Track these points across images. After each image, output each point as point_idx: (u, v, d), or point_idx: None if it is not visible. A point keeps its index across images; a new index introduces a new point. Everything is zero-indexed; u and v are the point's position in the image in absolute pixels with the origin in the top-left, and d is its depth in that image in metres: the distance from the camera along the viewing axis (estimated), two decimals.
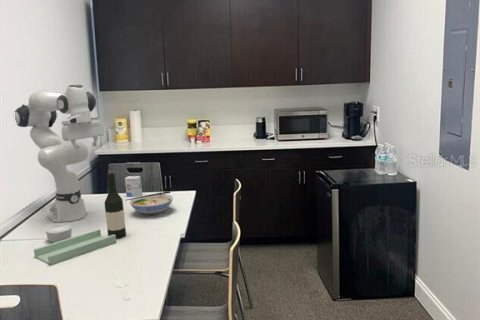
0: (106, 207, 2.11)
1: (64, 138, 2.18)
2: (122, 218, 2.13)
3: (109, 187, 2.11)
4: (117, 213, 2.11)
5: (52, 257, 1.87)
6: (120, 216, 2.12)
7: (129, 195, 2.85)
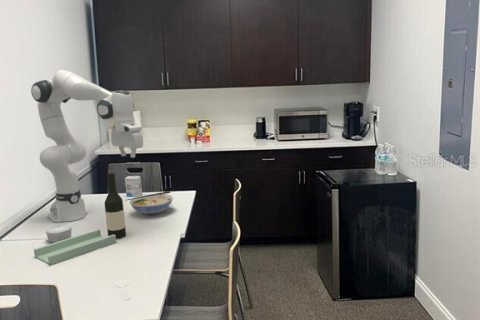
0: (106, 207, 2.11)
1: (140, 145, 2.09)
2: (122, 218, 2.13)
3: (109, 187, 2.11)
4: (117, 213, 2.11)
5: (52, 257, 1.87)
6: (120, 216, 2.12)
7: (129, 195, 2.85)
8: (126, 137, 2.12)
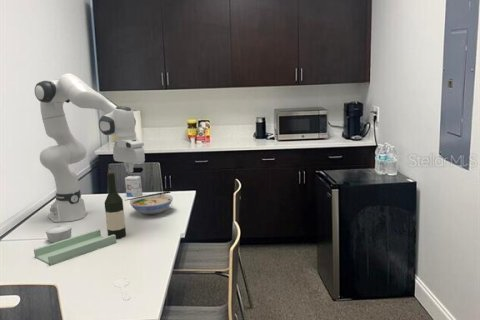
0: (106, 207, 2.11)
1: (142, 161, 2.11)
2: (122, 218, 2.13)
3: (109, 187, 2.11)
4: (117, 213, 2.11)
5: (52, 257, 1.87)
6: (120, 216, 2.12)
7: (129, 195, 2.85)
8: (128, 153, 2.14)
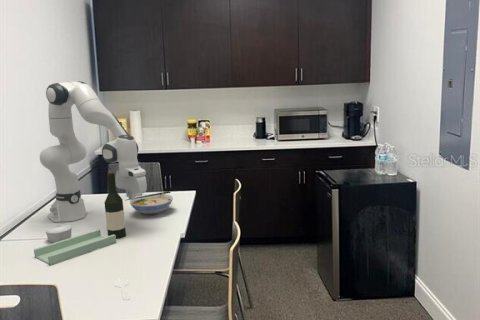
0: (106, 207, 2.11)
1: (144, 189, 2.13)
2: (122, 218, 2.13)
3: (109, 187, 2.11)
4: (117, 213, 2.11)
5: (52, 257, 1.87)
6: (120, 216, 2.12)
7: None
8: (130, 181, 2.16)
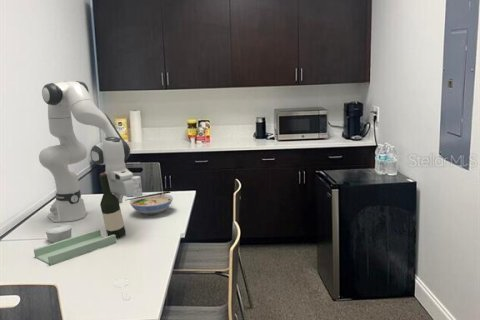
0: (102, 209, 2.09)
1: (131, 193, 2.08)
2: (120, 218, 2.12)
3: (103, 189, 2.08)
4: (114, 214, 2.09)
5: (52, 257, 1.87)
6: (117, 216, 2.11)
7: None
8: (117, 184, 2.11)
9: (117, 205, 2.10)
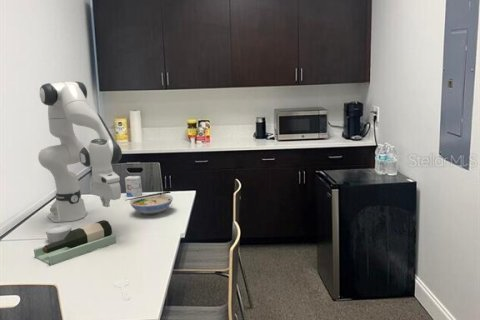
0: None
1: (118, 196, 2.03)
2: (91, 228, 2.05)
3: (61, 247, 1.96)
4: (88, 234, 2.02)
5: (52, 257, 1.87)
6: (90, 230, 2.04)
7: (129, 195, 2.85)
8: (104, 187, 2.06)
9: (79, 232, 2.01)
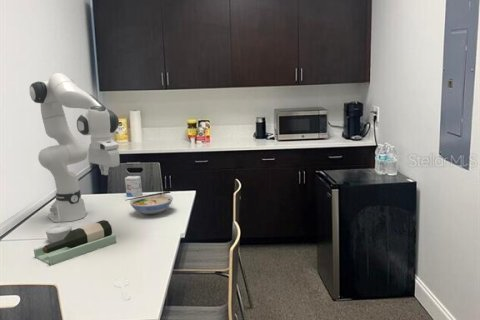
0: None
1: (116, 163, 2.02)
2: (91, 228, 2.05)
3: (61, 247, 1.96)
4: (88, 234, 2.02)
5: (52, 257, 1.87)
6: (90, 230, 2.04)
7: (129, 195, 2.85)
8: (102, 155, 2.05)
9: (79, 232, 2.01)
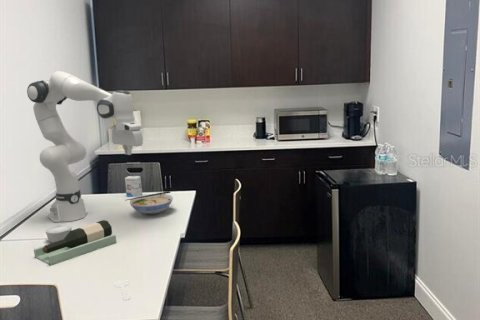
0: None
1: (140, 143, 2.16)
2: (91, 228, 2.05)
3: (61, 247, 1.96)
4: (88, 234, 2.02)
5: (52, 257, 1.87)
6: (90, 230, 2.04)
7: (129, 195, 2.85)
8: (126, 135, 2.19)
9: (79, 232, 2.01)
